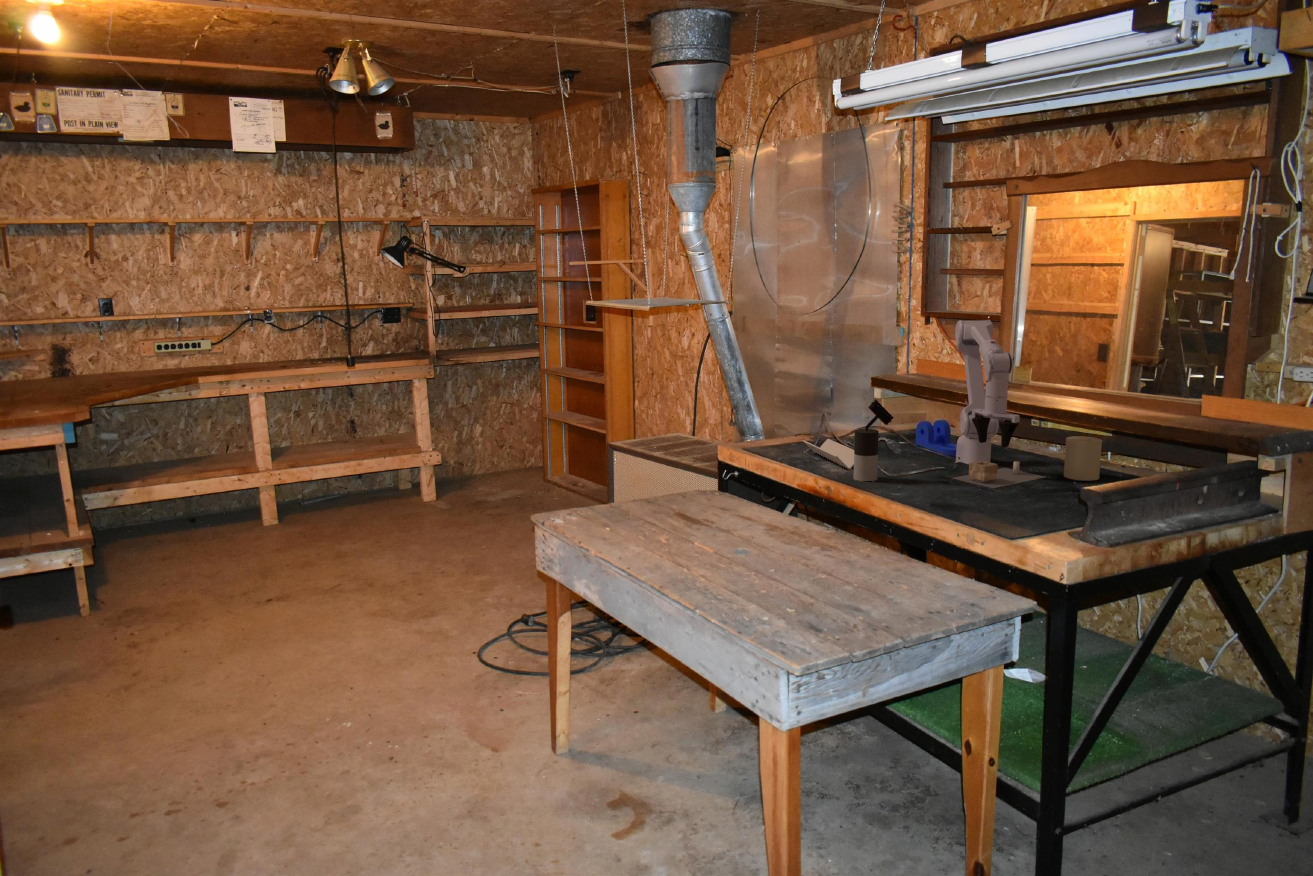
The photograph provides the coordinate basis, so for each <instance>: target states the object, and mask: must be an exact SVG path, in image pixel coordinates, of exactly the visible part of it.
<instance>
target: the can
mask: <svg viewBox="0 0 1313 876" xmlns="http://www.w3.org/2000/svg"><path fill="white" fill-rule="evenodd" d="M1102 446H1103V439H1101V438H1097V437H1094V436H1082V435H1081V436H1079V435H1076V436H1075V435H1074V436H1068V437H1066V438H1065V452H1064V453H1065V454H1064V465H1063V466H1064V468H1063V477H1064V478H1067V479H1070V480H1076V481H1086V482H1087V481H1097V480H1099V479H1100V474H1101V472H1100V471H1101V470H1100V469H1101V456H1102Z"/></svg>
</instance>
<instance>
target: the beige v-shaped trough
mask: <svg viewBox="0 0 1313 876" xmlns="http://www.w3.org/2000/svg"><path fill="white" fill-rule="evenodd" d="M802 442H803V443H804V445H806V446H808V447H809V449H810V450H812V451H813V452H814V454H816V453H817V455H818V454H819V455H818V456H820V455H821V456H820V457H822V456H823V457H822V458H824V457H825V459H826V458H827V459H826V460H828V459H829V460H828V461H830V460H831V461H830V462H832V461H833V463H834V462H835V463H834V464H836V463H837V465H838V464H839V465H838V466H840V465H841V466H840V467H842V466H843V468H844V467H845V469H846V468H847V469H846V470H851V469H852V468H854V448H851V447H848V446H846V445H843V444H841V443H838V442H836V441H834V440H833V439H830V438H827V439H826V440H825V441H824V442H823V443H822V445H820V447H819V446H817V445H815V444H812V443H810V442H808V441H806V440H802Z"/></svg>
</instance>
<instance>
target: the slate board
mask: <svg viewBox="0 0 1313 876" xmlns="http://www.w3.org/2000/svg"><path fill="white" fill-rule="evenodd" d="M1020 462H1021V461H1017V460H1015V461H1013V465H1012V468H1007V467H1001V468H998V469H997V479H992V480H987V481H981V480H977V479H973V478H969V474H966V475H960V476H956V477H952V480H951V483H956V484H959V485H960V484H961V485H964V486H967V487H968V486H969V487H971V488H972V487H973V488H976V489H980V490H984V491H988V492H991V493H994V492H995V490H992V489H996V488H1000V487H1006V486H1011V485H1015V484H1021V483H1025V482H1030V481H1035V480H1036V481H1037V480H1039V479H1045V478H1046V476H1044V475H1039V474H1034V473H1030V472H1026V471H1022V470H1020V464H1021V463H1020ZM953 479H954V480H953ZM955 480H958V481H955ZM960 481H961V482H960ZM964 482H966V483H964ZM967 483H970V484H967ZM971 484H972V485H971ZM973 484H974V485H973ZM975 485H978V486H975ZM980 486H981V487H980ZM983 487H986V488H983ZM988 488H989V489H988Z"/></svg>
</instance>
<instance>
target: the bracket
mask: <svg viewBox="0 0 1313 876" xmlns="http://www.w3.org/2000/svg"><path fill="white" fill-rule="evenodd" d="M916 444H917V445H920V446H923V447H925V448H928V449H931V450H934V451H937V452H940V453H942V454H946V455H951V456H950V457H956V449H957V443H953V442H952V440H951V426H950V423H949V421H947V420H946V419H937V420H935V421H934V422H933V424H932V423H931V422H930V421H929V420H924V421H919V422H918V423H917V424H916V428H915V445H916ZM946 455H945V456H946Z"/></svg>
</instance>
